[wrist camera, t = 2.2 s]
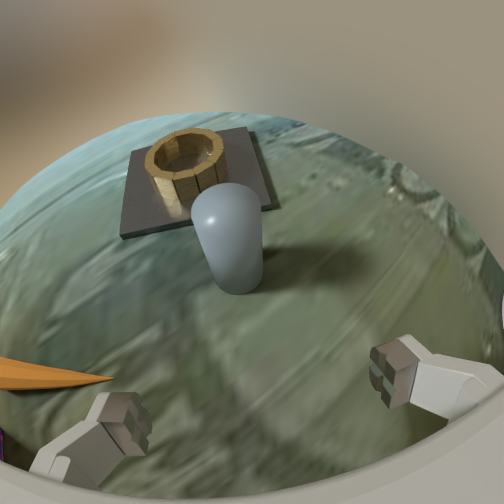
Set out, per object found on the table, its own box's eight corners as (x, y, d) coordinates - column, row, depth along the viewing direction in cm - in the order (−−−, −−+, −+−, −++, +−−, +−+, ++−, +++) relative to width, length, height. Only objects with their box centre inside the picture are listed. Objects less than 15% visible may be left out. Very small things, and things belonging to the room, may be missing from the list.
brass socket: (221, 142, 38) (218, 122, 35) (231, 190, 33) (227, 168, 30) (155, 156, 37) (148, 138, 34) (151, 207, 32) (142, 187, 29)
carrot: (3, 385, 22) (-17, 391, 18) (-4, 352, 23) (-25, 356, 18) (127, 392, 25) (113, 406, 20) (118, 352, 26) (102, 360, 21)
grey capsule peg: (257, 246, 30) (253, 177, 21) (268, 289, 27) (267, 229, 19) (211, 255, 30) (189, 190, 21) (217, 299, 27) (193, 243, 18)
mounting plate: (247, 131, 40) (246, 126, 40) (271, 209, 32) (271, 203, 31) (133, 156, 39) (131, 151, 39) (122, 239, 31) (119, 234, 30)
